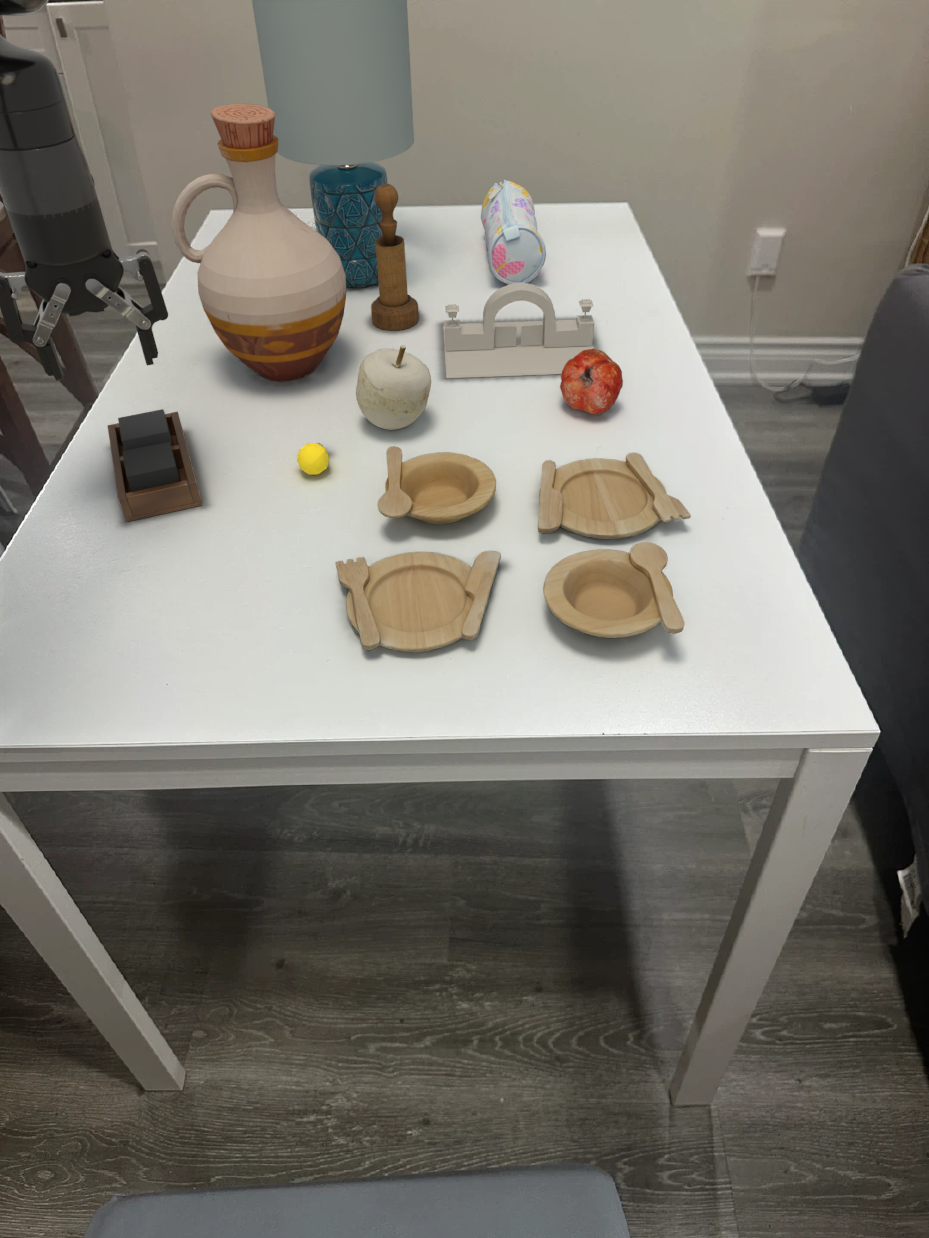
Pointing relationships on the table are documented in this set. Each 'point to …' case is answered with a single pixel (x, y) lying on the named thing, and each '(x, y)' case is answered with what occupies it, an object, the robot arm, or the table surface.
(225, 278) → the jug
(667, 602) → the tableware set
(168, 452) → the pad left
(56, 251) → the robot arm
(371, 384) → the decorative object
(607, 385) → the pomegranate
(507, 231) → the pencil case
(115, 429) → the back frame
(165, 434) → the pad right
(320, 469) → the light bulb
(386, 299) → the mortar and pestle
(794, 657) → the table surface
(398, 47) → the lamp
